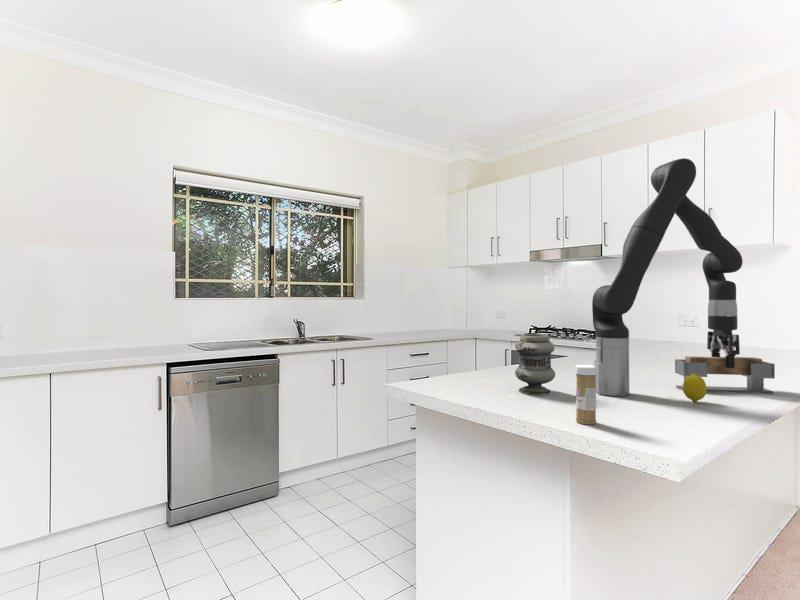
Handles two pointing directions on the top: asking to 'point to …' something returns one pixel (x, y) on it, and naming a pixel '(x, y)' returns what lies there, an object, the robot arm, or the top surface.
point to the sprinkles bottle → (586, 394)
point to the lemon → (694, 387)
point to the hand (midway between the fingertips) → (722, 366)
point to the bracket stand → (753, 385)
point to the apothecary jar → (535, 363)
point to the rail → (718, 364)
